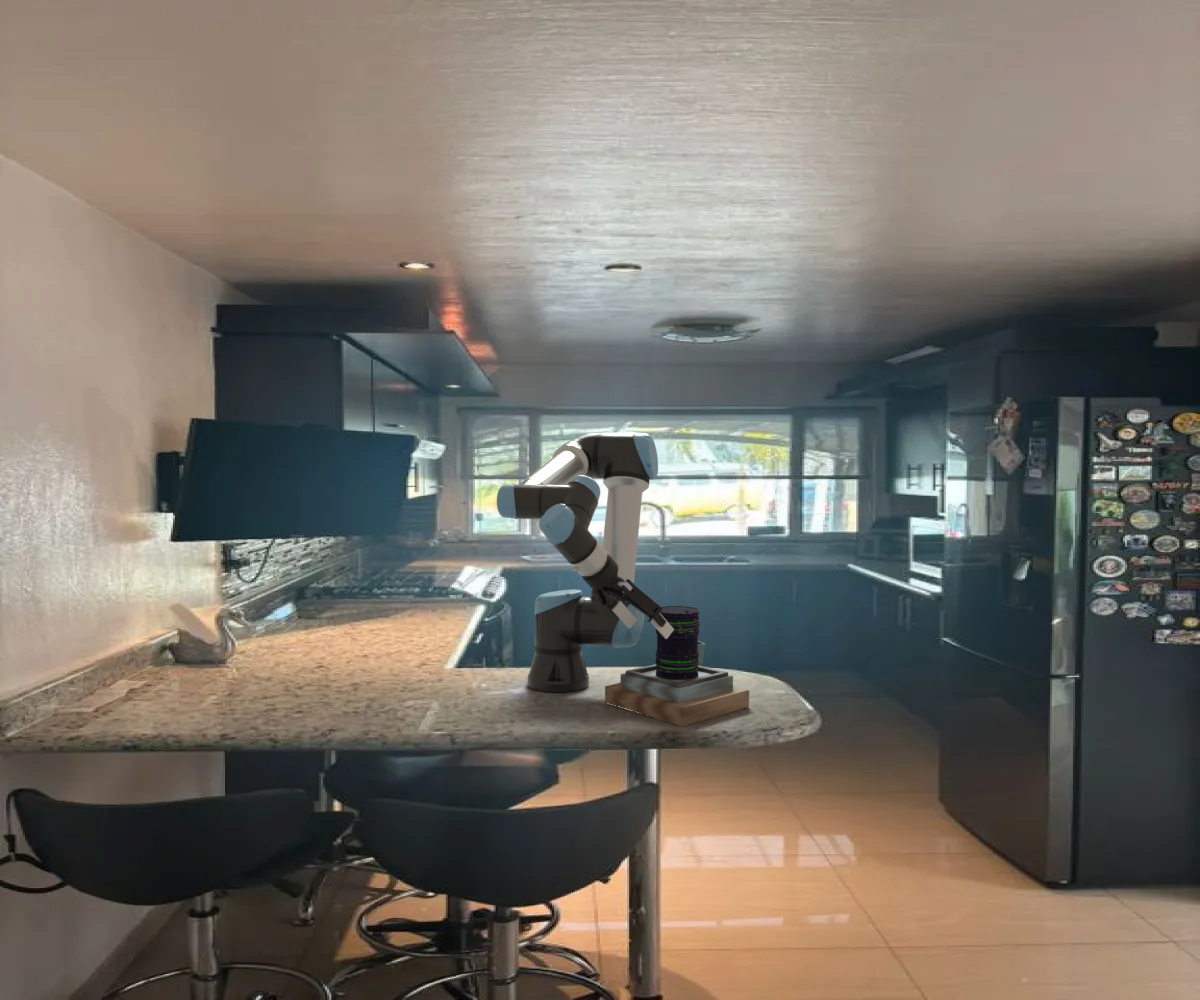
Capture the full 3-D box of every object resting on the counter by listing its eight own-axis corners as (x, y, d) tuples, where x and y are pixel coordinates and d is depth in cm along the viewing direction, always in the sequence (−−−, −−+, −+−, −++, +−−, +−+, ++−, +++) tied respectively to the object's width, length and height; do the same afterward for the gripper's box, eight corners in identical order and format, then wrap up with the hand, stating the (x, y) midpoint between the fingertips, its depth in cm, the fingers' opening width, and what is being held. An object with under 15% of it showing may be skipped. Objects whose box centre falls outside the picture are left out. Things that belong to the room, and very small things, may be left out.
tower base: (604, 703, 212) (605, 669, 212) (670, 687, 227) (670, 655, 227) (683, 726, 195) (683, 689, 194) (748, 707, 210) (749, 673, 209)
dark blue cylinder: (646, 674, 211) (646, 608, 210) (676, 667, 217) (677, 604, 216) (677, 682, 203) (677, 615, 203) (708, 676, 210) (708, 610, 209)
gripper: (553, 571, 206) (608, 632, 215) (617, 585, 185) (675, 652, 194) (574, 546, 208) (628, 608, 217) (639, 557, 188) (696, 624, 197)
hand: (650, 628), depth 206 cm, fingers open, 13 cm apart
